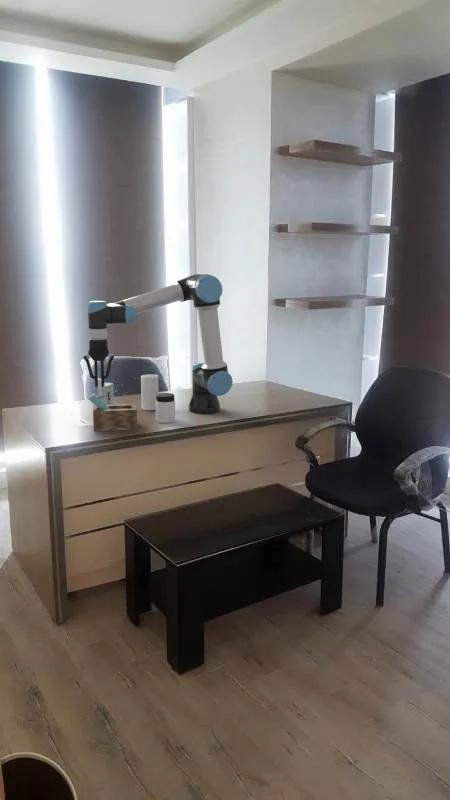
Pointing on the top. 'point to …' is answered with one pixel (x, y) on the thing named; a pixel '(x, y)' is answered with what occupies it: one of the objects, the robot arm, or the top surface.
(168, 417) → the jar
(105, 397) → the ink box
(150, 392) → the cup
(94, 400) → the peg
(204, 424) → the top surface
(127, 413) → the socket
